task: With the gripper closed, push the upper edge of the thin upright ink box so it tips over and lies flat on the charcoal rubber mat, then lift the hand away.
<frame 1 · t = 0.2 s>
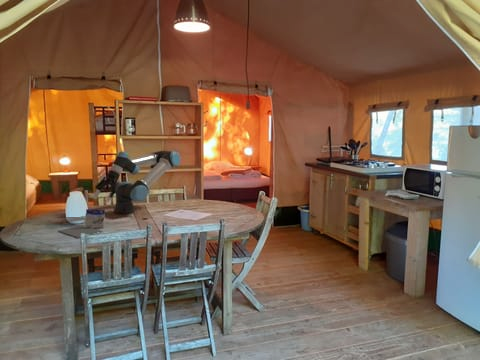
hand: (100, 200, 248), 16 cm above the table, tool tilted 35°, fingers open, 13 cm apart
ink box: (94, 227, 238), on the table, touching rubber mat
rubber mat: (80, 231, 230), on the table
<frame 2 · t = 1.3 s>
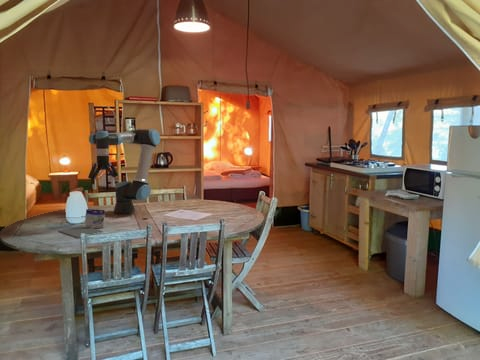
hand: (103, 188, 241), 25 cm above the table, tool pointing down, fingers open, 13 cm apart
nothing on the table moved.
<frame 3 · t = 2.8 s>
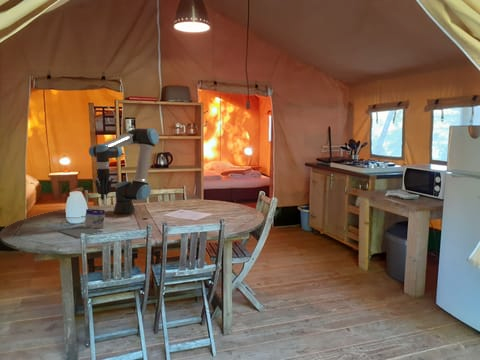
hand: (104, 204, 242), 14 cm above the table, tool pointing down, fingers closed
nothing on the table moved.
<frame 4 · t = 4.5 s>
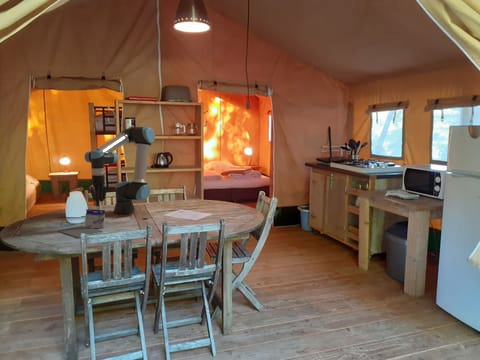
hand: (99, 210, 239), 11 cm above the table, tool pointing down, fingers closed
nothing on the table moved.
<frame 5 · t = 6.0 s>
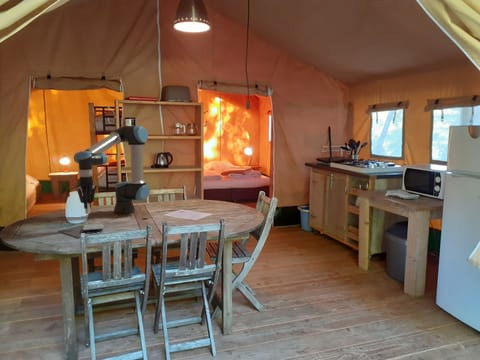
hand: (87, 213, 233), 11 cm above the table, tool pointing down, fingers closed
ink box: (94, 225, 237), point 2 cm above the table, touching rubber mat
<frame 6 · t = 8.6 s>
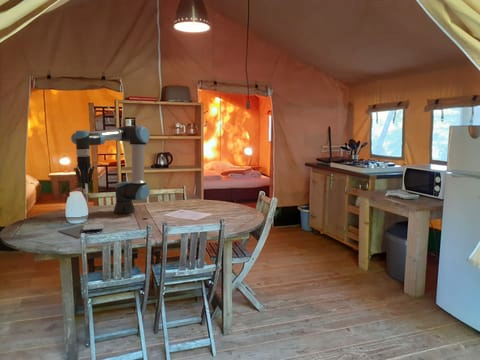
hand: (85, 193, 230), 23 cm above the table, tool pointing down, fingers closed
nothing on the table moved.
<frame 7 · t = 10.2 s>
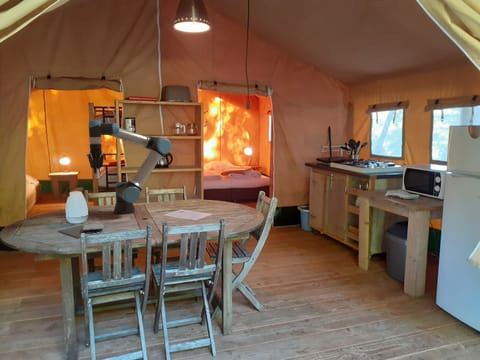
hand: (97, 178, 254), 29 cm above the table, tool pointing down, fingers closed
nothing on the table moved.
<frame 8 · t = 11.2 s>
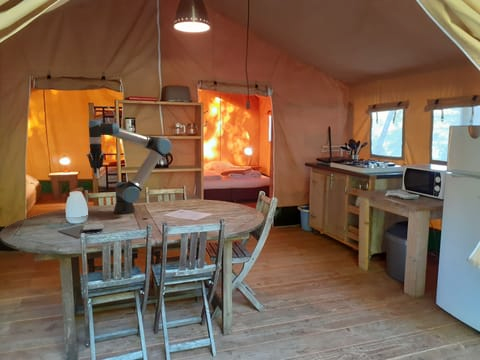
hand: (97, 178, 254), 29 cm above the table, tool pointing down, fingers closed
nothing on the table moved.
at the end: ink box tilted 90°; ink box touching rubber mat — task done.
